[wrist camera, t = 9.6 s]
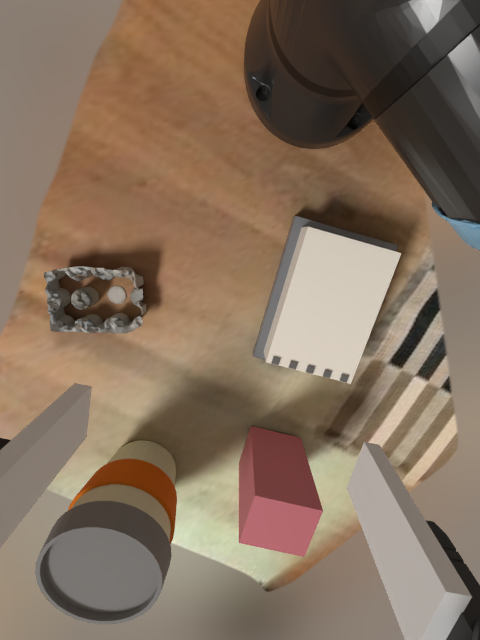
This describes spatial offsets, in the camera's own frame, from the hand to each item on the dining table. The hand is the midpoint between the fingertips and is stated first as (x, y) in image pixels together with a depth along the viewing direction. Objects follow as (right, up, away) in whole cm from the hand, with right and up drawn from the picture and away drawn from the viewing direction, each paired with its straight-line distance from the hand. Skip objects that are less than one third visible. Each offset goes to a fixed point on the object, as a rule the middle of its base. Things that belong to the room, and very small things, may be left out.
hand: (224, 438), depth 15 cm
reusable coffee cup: (-13, -15, +30) cm, 36 cm away
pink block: (+5, -12, +29) cm, 32 cm away
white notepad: (+10, +8, +24) cm, 27 cm away
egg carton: (-16, +9, +24) cm, 30 cm away
